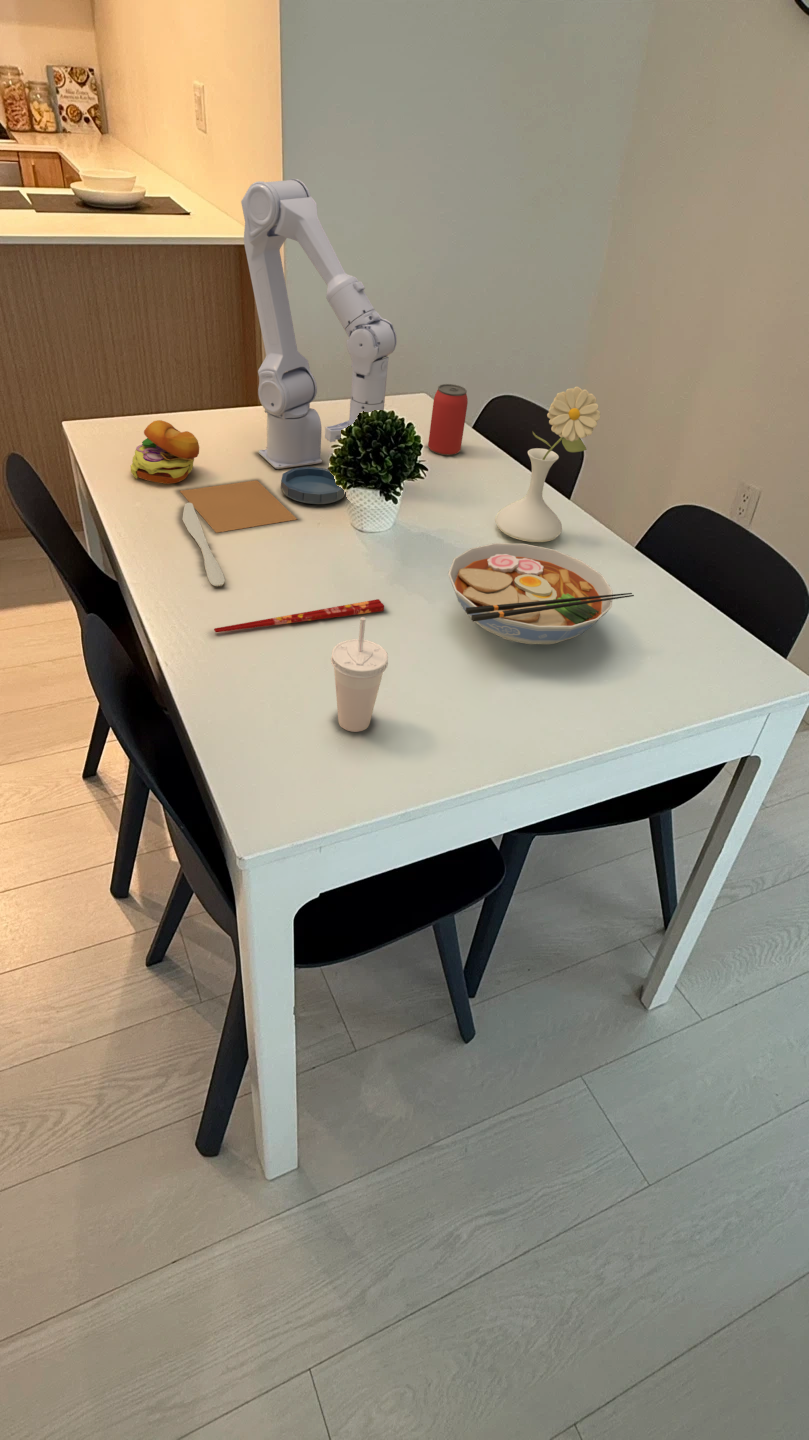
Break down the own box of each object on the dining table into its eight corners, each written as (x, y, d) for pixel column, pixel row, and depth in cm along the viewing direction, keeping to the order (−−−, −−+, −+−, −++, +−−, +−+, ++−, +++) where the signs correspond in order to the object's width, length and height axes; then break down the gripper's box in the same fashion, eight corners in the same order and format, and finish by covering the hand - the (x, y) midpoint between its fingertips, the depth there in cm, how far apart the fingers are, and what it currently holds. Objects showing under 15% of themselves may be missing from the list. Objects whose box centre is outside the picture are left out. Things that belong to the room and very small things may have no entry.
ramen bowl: (558, 579, 135) (569, 531, 130) (638, 661, 119) (655, 610, 114) (409, 594, 127) (416, 544, 122) (474, 686, 111) (485, 632, 106)
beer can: (466, 450, 173) (475, 389, 166) (450, 459, 169) (459, 397, 161) (438, 440, 176) (446, 380, 168) (421, 449, 171) (428, 387, 164)
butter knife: (205, 585, 122) (226, 582, 122) (177, 503, 141) (195, 501, 142) (205, 588, 122) (226, 585, 123) (177, 506, 141) (196, 504, 142)
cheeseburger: (123, 464, 151) (132, 408, 146) (183, 474, 157) (194, 420, 152) (135, 488, 144) (145, 429, 139) (198, 497, 150) (209, 441, 145)
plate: (327, 477, 156) (327, 463, 155) (356, 502, 149) (357, 488, 148) (270, 485, 151) (271, 471, 150) (298, 511, 144) (299, 497, 143)
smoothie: (380, 706, 105) (391, 608, 96) (381, 741, 100) (393, 639, 92) (327, 703, 105) (334, 603, 96) (325, 737, 100) (332, 635, 91)
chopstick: (213, 630, 114) (212, 624, 113) (378, 604, 124) (379, 598, 123) (217, 638, 113) (217, 632, 112) (384, 611, 122) (384, 605, 122)
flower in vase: (486, 538, 144) (513, 385, 128) (502, 512, 152) (529, 365, 137) (562, 557, 141) (600, 403, 126) (574, 529, 150) (611, 382, 134)
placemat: (257, 480, 152) (257, 480, 152) (297, 519, 142) (297, 519, 142) (179, 491, 146) (179, 490, 146) (216, 532, 135) (216, 532, 135)
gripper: (340, 410, 139) (336, 490, 147) (416, 402, 146) (408, 479, 154) (320, 396, 143) (317, 474, 152) (395, 389, 150) (388, 464, 159)
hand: (361, 476), depth 153 cm, fingers closed
